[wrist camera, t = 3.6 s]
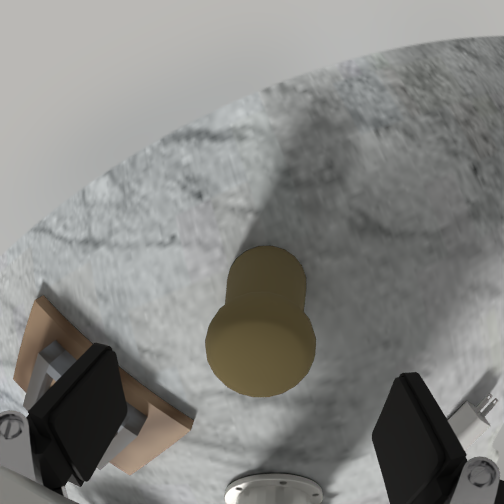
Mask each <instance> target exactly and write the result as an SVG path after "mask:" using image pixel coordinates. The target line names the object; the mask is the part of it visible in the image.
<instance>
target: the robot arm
mask: <svg viewBox="0 0 504 504" xmlns="http://www.w3.org/2000/svg"><path fill="white" fill-rule="evenodd" d="M127 411H128V408H127V404H126V399H125V395H124V391H123V386H122V382H121V377H120V372H119V367H118V361H117V356H116V353H115V352H114V351H112V348H111V347H110V346H107V345H102V344H98V343H94V344H93V345H92V346H91V347H90V348H89V349H88V350H87V351H86V352H85V353H84V354H83V355H82V356H81V357H80V358H79V359H78V360H77V361H76V362H75V363H74V364H73V365H72V366H71V367H70V368H69V369H68V370H67V371H66V372H65V373H64V374H63V375H62V376H61V377H60V378H59V379H58V380H57V381H56V382H55V383H54V384H53V385H52V386H51V387H50V388H49V390H48V391H47V392H46V393H45V394H44V395H43V396H42V397H41V398H40V399H39V400H38V401H37V402H36V403H35V404H34V405H33V406H32V408H31V409H30V410H29V411H28V413H29V415H28V416H27V417H25V416H24V415H23V414H21V413H20V412H17V411H4V412H2V413H0V504H79V503H77V502H74V501H72V500H70V499H68V495H67V492H66V488H65V485H66V483H67V481H69V482H71V483H73V484H75V485H77V486H80V487H81V486H82V484H83V483H84V481H86V482H87V481H89V479H90V478H91V476H92V475H93V473H94V471H95V469H96V467H97V466H98V464H99V462H100V460H101V459H102V457H103V455H104V454H105V452H106V450H107V448H108V447H109V445H110V443H111V441H112V440H113V438H114V436H115V435H116V433H117V431H118V429H119V428H120V426H121V424H122V423H123V421H124V419H125V418H126V416H127ZM372 441H373V444H374V448H375V451H376V455H377V458H378V462H379V465H380V469H381V472H382V476H383V479H384V483H385V487H386V490H387V494H388V498H389V502H390V504H504V481H502V480H500V472H499V468H498V467H497V465H496V464H495V463H494V462H493V461H492V460H490V459H488V458H486V457H474V458H472V459H470V460H468V461H467V459H466V455H467V454H466V452H465V451H464V449H463V447H462V445H461V443H460V442H459V440H458V438H457V436H456V434H455V433H454V431H453V429H452V427H451V426H450V424H449V422H448V420H447V419H446V417H445V415H444V414H443V412H442V410H441V409H440V407H439V405H438V404H437V402H436V400H435V399H434V397H433V395H432V394H431V392H430V391H429V389H428V387H427V386H426V384H425V383H424V381H423V379H422V378H421V376H420V375H419V374H418V373H417V372H412V373H402V374H400V376H399V377H397V378H396V379H395V380H394V382H393V385H392V387H391V390H390V393H389V395H388V398H387V400H386V402H385V405H384V407H383V410H382V412H381V414H380V416H379V419H378V421H377V423H376V425H375V428H374V430H373V432H372ZM322 499H323V494H322V489H321V487H320V486H319V485H318V484H317V483H315V482H314V481H312V480H309V479H307V478H304V477H300V476H296V475H290V474H259V475H253V476H248V477H244V478H241V479H239V480H236V481H234V482H233V483H231V484H230V485H229V486H228V487H227V488H226V491H225V495H224V500H225V502H226V504H320V503H321V502H322Z"/></svg>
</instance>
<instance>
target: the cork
mask: <svg viewBox="0 0 504 504" xmlns="http://www.w3.org/2000/svg"><path fill="white" fill-rule="evenodd" d="M305 295H306V276H305V273H304V270H303V267H302V265H301V264H300V263H299V261H298V260H297V259H296V258H295V256H293V255H292V254H290V253H289V252H287V251H286V250H284V249H281V248H278V247H274V246H258V247H255V248H252V249H250V250H247V251H245V252H244V253H243V254H242V255H240V256H239V257H238V258H237V259H236V260H235V262H234V263H233V265H232V266H231V268H230V271H229V275H228V279H227V288H226V300H225V305H224V306H223V307H221V308H220V309H219V311H218V312H217V314H216V315H215V317H214V318H213V319H212V321H211V323H210V325H209V327H208V331H207V336H206V340H205V346H206V354H207V361H208V363H209V365H210V367H211V369H212V370H213V372H214V374H215V375H216V376H217V378H219V379H220V380H221V381H222V382H223V383H224V384H225V385H226V386H227V387H228V388H230V389H232V390H234V391H236V392H237V393H239V394H243V395H247V396H251V397H271V396H275V395H279V394H282V393H284V392H286V391H288V390H289V389H291V388H293V387H295V386H296V385H297V384H298V383H299V382H300V381H301V380H302V379H303V378H304V377H305V376H306V375H307V374H308V372H309V370H310V367H311V365H312V363H313V361H314V357H315V350H316V337H315V334H314V331H313V328H312V325H311V322H310V319H309V318H308V317H307V315H306V314H305V313H304V304H305Z"/></svg>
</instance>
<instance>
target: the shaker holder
mask: <svg viewBox="0 0 504 504" xmlns="http://www.w3.org/2000/svg"><path fill="white" fill-rule="evenodd" d="M92 345H93V344H92V343H91V342H90V341H89V340H88V339H87V338H85V337H84V336H83V335H82V334H81V333H80V332H79V331H78V330H77V329H76V328H75V327H74V326H73V325H72V324H71V323H70V322H69V321H68V320H67V319H66V318H65V317H64V316H63V315H62V314H61V313H60V312H59V311H58V310H57V309H56V308H55V307H54V306H53V305H52V304H51V303H50V302H49V301H48V300H47V299H46V298H45V297H44V295H43V296H41V297H40V298H38V299H36V300H35V301H34V304H33V307H32V310H31V313H30V316H29V319H28V322H27V326H26V329H25V332H24V336H23V340H22V343H21V347H20V351H19V355H18V359H17V364H16V368H15V373H14V377H13V379H14V381H15V382H16V383H17V384H18V385H19V386H20V387H21V388H22V389H23V390H24V391H25V392H26V396H25V400H24V404H23V406H24V407H25V408H26V409H27V410H28V411H29V410H30V409H31V408H32V406H33V405H34V404H35V403H36V402H37V401H38V400H39V399H40V398H41V397H42V396H43V395H44V394H45V393H46V392H47V391H48V390H49V388H50V387H51V386H52V385H53V384H54V383H55V382H56V381H57V380H58V379H59V378H60V377H61V376H62V375H63V374H64V373H65V372H66V371H67V370H68V369H69V368H70V367H71V366H72V365H73V364H74V363H75V362H76V361H77V360H78V359H79V358H80V357H81V356H82V355H83V354H84V353H85V352H86V351H87V350H88V349H89V348H90V347H91V346H92ZM118 367H119V366H118ZM119 372H120V377H121V382H122V386H123V391H124V395H125V399H126V404H127V408H128V411H127V416H126V418H125V419H124V421H123V423H122V424H121V426H120V428H119V429H118V431H117V433H116V435H115V436H114V438H113V440H112V441H111V443H110V445H109V447H108V448H107V450H106V452H105V454H104V455H103V457H102V459H101V460H100V462H99V464H98V466H97V468H98V469H99V470H101V469H102V468H103V467H104V466H105V465H106V464H107V463H109V462H110V463H111V464H113V465H114V466H116V467H117V468H119V469H121V470H122V471H124V472H125V473H127V474H129V475H132V474H133V473H134V472H136V471H137V470H139V469H140V468H142V467H143V466H144V465H146V464H147V463H148V462H150V461H151V460H153V459H154V458H155V457H157V456H158V455H159V454H161V453H162V452H163V451H165V450H166V449H167V448H169V447H170V446H171V445H173V444H174V443H175V442H177V441H178V440H179V439H180V438H182V437H183V436H184V435H185V434H187V433H188V432H189V431H190V430H191V428H192V425H193V422H194V420H192V419H191V418H189V417H188V416H186V415H185V414H183V413H182V412H180V411H178V410H177V409H175V408H174V407H173V406H171V405H170V404H168V403H167V402H165V401H164V400H162V399H161V398H160V397H158V396H157V395H155V394H154V393H153V392H151V391H150V390H148V389H147V388H146V387H144V386H143V385H142V384H140V383H139V382H138V381H137V380H135V379H134V378H133V377H131V376H130V375H129V374H128V373H126V372H125V371H124V370H123V369H121V368H120V367H119Z"/></svg>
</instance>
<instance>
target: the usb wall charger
mask: <svg viewBox="0 0 504 504" xmlns="http://www.w3.org/2000/svg"><path fill="white" fill-rule="evenodd" d="M489 395H490V398H489V399H487V397H488V396H489ZM491 398H492V395H491V394H490V393H489V394H488V395H487V396H486V397H485V398H484V399H483V400H482V402H481V403H480V404H479V405H478V406H477V407H475V406H474V405H472V404H471V403H469V402H468V401H466V402H465V403H464V404H463V405H462V407H461V408H460V409H459V410H458V411H457V412H456V413H455V414H454V415H453V416H452V417H451V418H450V419H449V420H448V422H449V424H450V426H451V427H452V429H453V431H454V433H455V434H456V436H457V438H458V440H459V442H460V443H461V445H462V447H463V449H464V451H465V450H466V449H467V448H469V447H470V446H471V445H472V444H473V443H474V442H475V441H476V440H477V439H478V438H479V437H480V436H481V435H482V434H483V433H484V432H485V431H486V430H487V429H488V428H489V427H490V424H489V423H488V421H487V420H486V419H485V416H486V415H487V413H488V412H489V411H490V410H491V409H492V408H493V407H494V406H495V404H496V403H497V402H498V400H497V399H496V398H495V399H494V400H496V403H495V404H493V402H494V400H493V401H492V402H491V403H490V404H489V405H488V406H487V407H486V408H485V409H484V411H483V412H482V413H481V412H480V410H481V409H482V408H483V407H484V406H485V405H486V404H487V403H488V401H489V400H490V399H491Z"/></svg>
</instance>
